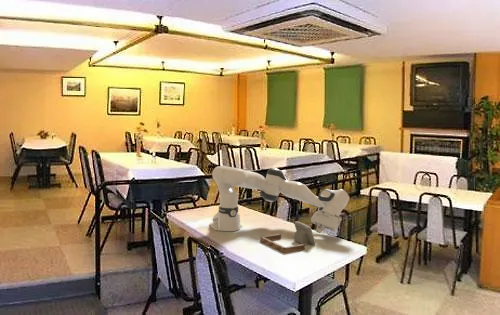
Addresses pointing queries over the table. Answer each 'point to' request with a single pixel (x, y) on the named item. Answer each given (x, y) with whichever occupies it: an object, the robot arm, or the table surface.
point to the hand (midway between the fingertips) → (317, 232)
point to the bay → (283, 249)
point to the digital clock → (303, 234)
